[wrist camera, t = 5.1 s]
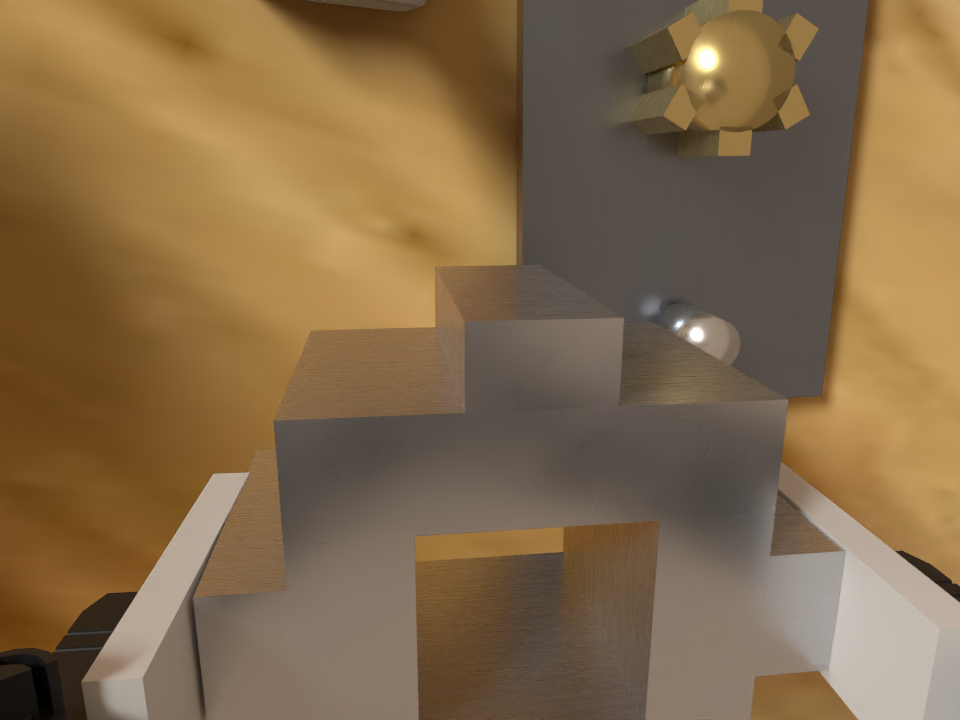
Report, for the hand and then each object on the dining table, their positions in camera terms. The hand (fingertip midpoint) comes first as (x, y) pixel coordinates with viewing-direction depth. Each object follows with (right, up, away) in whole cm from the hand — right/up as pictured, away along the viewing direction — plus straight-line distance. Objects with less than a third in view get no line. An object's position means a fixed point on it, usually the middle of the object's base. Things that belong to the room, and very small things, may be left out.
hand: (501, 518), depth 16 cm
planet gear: (0, 0, +1) cm, 2 cm away
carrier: (+8, +13, +15) cm, 21 cm away
